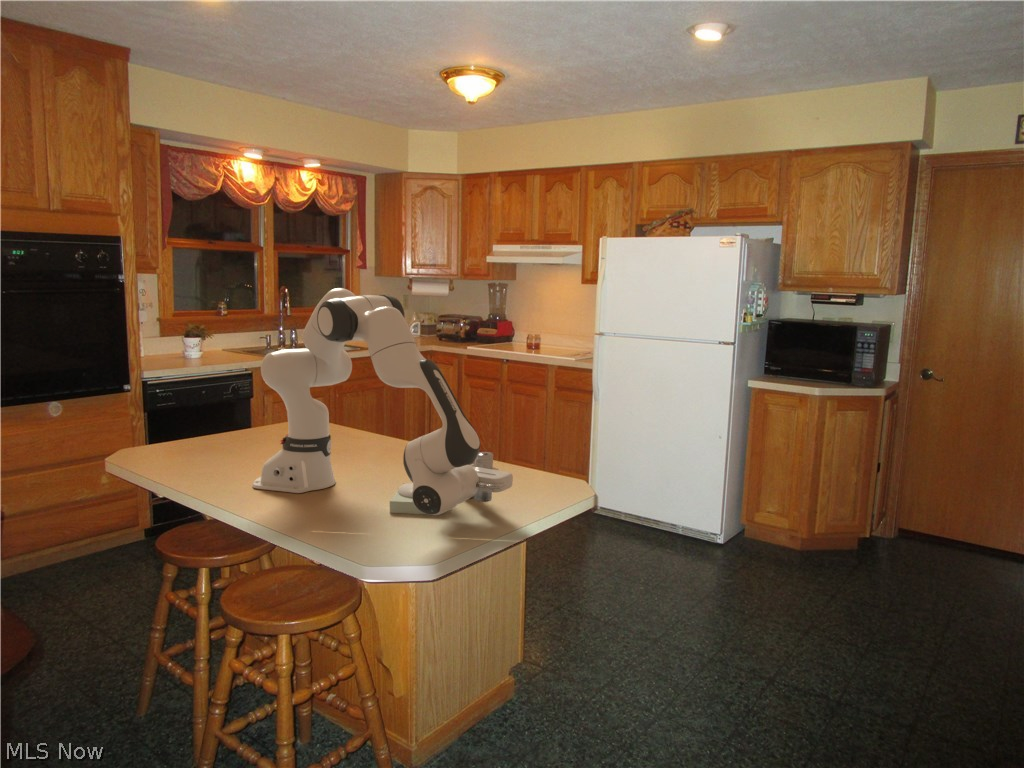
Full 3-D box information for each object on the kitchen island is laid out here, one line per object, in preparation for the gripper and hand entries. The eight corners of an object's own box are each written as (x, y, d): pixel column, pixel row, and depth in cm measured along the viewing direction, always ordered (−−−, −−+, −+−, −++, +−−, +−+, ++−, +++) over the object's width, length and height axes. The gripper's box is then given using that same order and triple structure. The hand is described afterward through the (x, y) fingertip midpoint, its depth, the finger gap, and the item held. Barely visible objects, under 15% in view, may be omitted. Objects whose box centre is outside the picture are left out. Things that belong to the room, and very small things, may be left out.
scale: (389, 512, 180) (389, 498, 179) (403, 493, 195) (403, 481, 195) (440, 514, 179) (440, 501, 178) (450, 495, 195) (450, 483, 194)
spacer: (473, 501, 181) (474, 455, 179) (475, 496, 185) (476, 451, 183) (490, 502, 181) (492, 456, 179) (492, 497, 185) (493, 452, 183)
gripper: (499, 476, 165) (523, 462, 178) (423, 463, 174) (451, 451, 186) (498, 502, 166) (522, 487, 179) (423, 488, 175) (450, 475, 187)
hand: (485, 469), depth 183 cm, fingers closed on spacer, 4 cm apart
